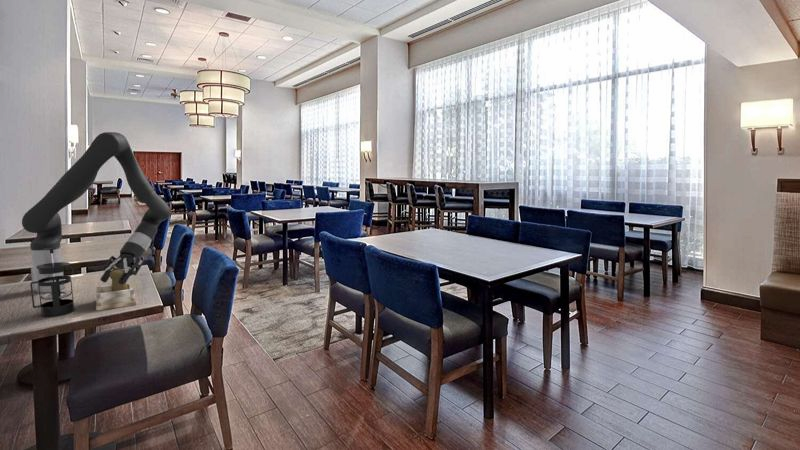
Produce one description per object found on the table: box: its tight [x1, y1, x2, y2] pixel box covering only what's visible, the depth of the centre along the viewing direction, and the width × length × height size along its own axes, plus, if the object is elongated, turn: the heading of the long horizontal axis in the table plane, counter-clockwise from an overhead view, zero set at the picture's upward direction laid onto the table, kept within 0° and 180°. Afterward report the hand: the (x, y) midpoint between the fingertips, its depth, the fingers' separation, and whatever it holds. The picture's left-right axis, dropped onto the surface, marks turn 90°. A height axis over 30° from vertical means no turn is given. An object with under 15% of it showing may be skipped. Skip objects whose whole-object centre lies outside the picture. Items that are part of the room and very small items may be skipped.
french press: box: [29, 247, 76, 318], centre depth 145 cm, size 12×9×23 cm
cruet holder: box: [95, 281, 137, 311], centre depth 158 cm, size 12×14×6 cm
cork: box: [109, 269, 128, 292], centre depth 157 cm, size 6×6×11 cm
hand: (111, 282), depth 156 cm, fingers open, 8 cm apart
